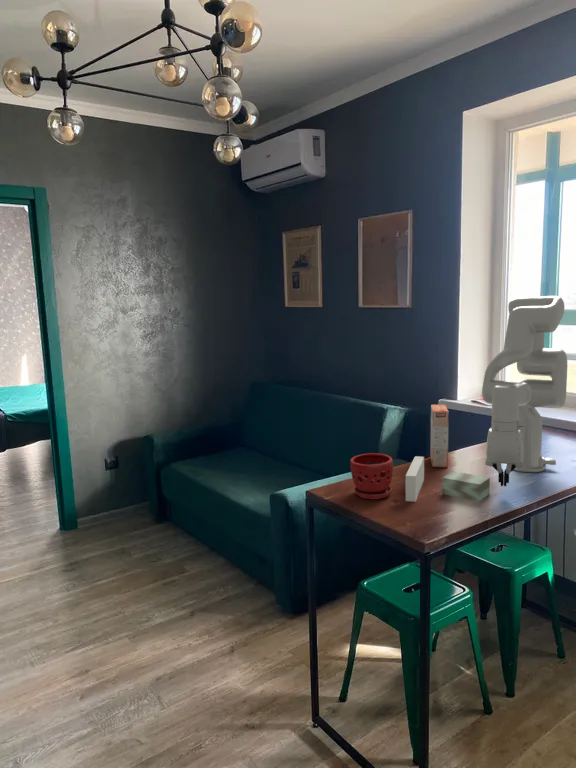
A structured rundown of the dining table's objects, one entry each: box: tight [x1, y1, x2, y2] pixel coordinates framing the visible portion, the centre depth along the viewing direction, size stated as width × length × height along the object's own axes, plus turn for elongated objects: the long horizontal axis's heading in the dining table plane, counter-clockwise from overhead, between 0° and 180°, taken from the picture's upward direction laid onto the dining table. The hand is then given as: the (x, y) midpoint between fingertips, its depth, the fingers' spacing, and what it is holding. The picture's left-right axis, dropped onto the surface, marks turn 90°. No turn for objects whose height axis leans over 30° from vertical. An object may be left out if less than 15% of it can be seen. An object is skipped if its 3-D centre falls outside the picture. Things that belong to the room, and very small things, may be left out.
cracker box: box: [429, 404, 450, 468], centre depth 211 cm, size 14×6×21 cm, turn 168°
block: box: [441, 470, 491, 502], centre depth 177 cm, size 12×8×6 cm, turn 51°
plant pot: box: [349, 452, 394, 500], centre depth 179 cm, size 13×13×12 cm
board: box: [405, 455, 425, 503], centre depth 182 cm, size 3×22×8 cm, turn 160°
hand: (503, 484), depth 173 cm, fingers closed
